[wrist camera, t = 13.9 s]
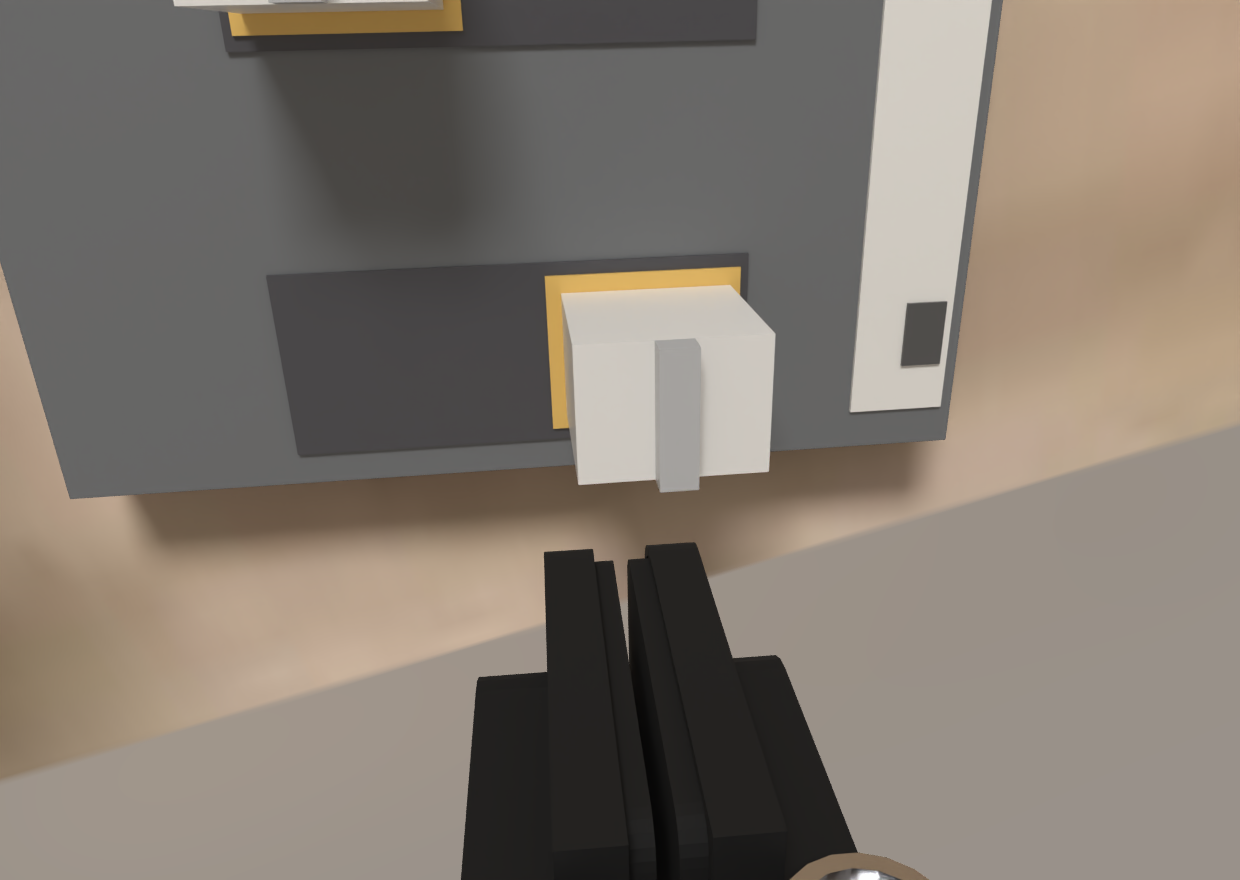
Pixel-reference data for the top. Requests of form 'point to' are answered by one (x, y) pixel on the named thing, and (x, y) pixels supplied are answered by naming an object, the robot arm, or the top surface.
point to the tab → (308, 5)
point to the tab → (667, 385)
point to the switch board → (470, 219)
